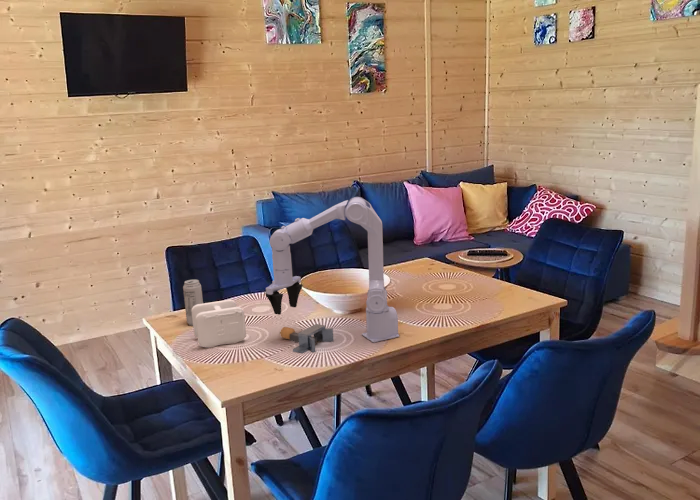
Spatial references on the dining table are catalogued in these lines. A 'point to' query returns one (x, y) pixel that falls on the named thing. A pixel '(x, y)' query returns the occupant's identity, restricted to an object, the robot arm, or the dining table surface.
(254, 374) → the dining table surface
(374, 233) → the robot arm
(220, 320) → the cable organizer
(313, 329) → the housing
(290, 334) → the grey and orange tool
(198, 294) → the energy drink can
